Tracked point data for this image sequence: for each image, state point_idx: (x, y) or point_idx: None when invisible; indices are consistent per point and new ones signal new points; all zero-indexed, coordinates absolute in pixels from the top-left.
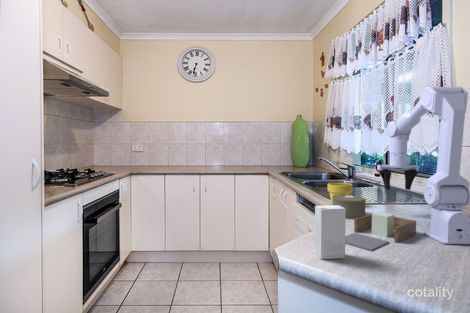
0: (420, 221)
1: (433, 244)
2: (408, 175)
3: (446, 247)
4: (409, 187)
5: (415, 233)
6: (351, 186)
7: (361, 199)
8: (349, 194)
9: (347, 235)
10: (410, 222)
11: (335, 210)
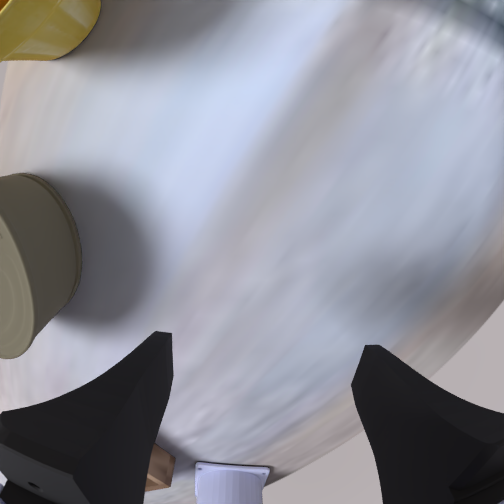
0: (295, 367)
1: (175, 491)
2: (404, 484)
3: (190, 499)
4: (361, 403)
5: (173, 460)
6: (19, 8)
7: (18, 308)
8: (47, 26)
9: None
10: (145, 489)
11: None
